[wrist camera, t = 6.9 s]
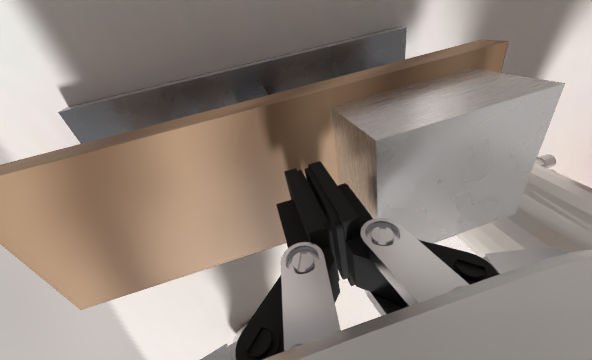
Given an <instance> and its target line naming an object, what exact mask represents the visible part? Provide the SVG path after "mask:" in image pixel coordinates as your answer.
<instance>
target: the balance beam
mask: <svg viewBox="0 0 592 360" xmlns="http://www.w3.org/2000/svg"><path fill="white" fill-rule="evenodd" d="M507 45H508V41H494V40H478V41H475V42H471V43H467V44H463V45H459V46H455V47H452V48H448V49H444V50H440V51H436V52H432V53H428V54H425V55H421V56H417V57H413V58H409V59H405V60H402V61H398V62H394V63H390V64H386V65H382V66H379V67H375V68H371V69H367V70H363V71H359V72H356V73H352V74H348V75H344V76H340V77H336V78H332V79H329V80H325V81H321V82H317V83H313V84H309V85H306V86H302V87H298V88H294V89H290V90H286V91H283V92H279V93H275V94H271V95H267V96H263V97H260V98H256V99H252V100H248V101H244V102H240V103H236V104H233V105H229V106H225V107H221V108H217V109H213V110H210V111H206V112H202V113H198V114H194V115H190V116H187V117H183V118H179V119H175V120H171V121H167V122H164V123H160V124H156V125H152V126H148V127H144V128H140V129H137V130H133V131H129V132H125V133H121V134H117V135H114V136H110V137H106V138H102V139H98V140H94V141H91V142H87V143H83V144H79V145H75V146H71V147H68V148H64V149H60V150H56V151H52V152H48V153H44V154H41V155H37V156H33V157H29V158H25V159H21V160H18V161H14V162H10V163H6V164H3V165H0V244H1V245H2V246H3V247H5V248H6V249H7V250H8V251H9V252H11V253H12V254H13V255H14V256H15V257H17V258H18V259H19V260H20V261H21V262H23V263H24V264H25V265H26V266H28V267H29V268H30V269H31V270H32V271H34V272H35V273H36V274H38V275H39V276H40V277H41V278H42V279H43V280H45V281H46V282H47V283H48V284H50V285H51V286H52V287H53V288H54V289H56V290H57V291H58V292H59V293H60V294H62V295H63V296H64V297H65V298H67V299H68V300H69V301H70V302H71V303H73V304H74V305H75V306H76V307H78V308H79V309H80V310H82V309H85V308H89V307H92V306H95V305H98V304H101V303H104V302H107V301H110V300H113V299H116V298H119V297H122V296H125V295H128V294H132V293H135V292H138V291H141V290H144V289H147V288H150V287H153V286H156V285H159V284H162V283H165V282H168V281H171V280H174V279H177V278H180V277H184V276H187V275H190V274H193V273H196V272H199V271H202V270H205V269H208V268H211V267H214V266H217V265H220V264H223V263H226V262H229V261H232V260H236V259H239V258H242V257H245V256H248V255H251V254H254V253H257V252H260V251H263V250H266V249H269V248H272V247H275V246H278V245H281V244H284V243H287V242H286V238H285V235H284V231H283V227H282V224H281V220H280V217H279V213H278V209H277V206H276V204H278V203H282V202H285V201H288V200H291V197H290V193H289V189H288V185H287V181H286V177H285V173H284V171H287V170H291V169H294V168H296V169H297V171H299V170H302V172H303V174H304V176H305V177H306V174H305V169H306V168H308V164H311V163H315V162H318V161H321V162H322V164H323V165H324V167H325V168H326V170H327V171H328V173H329V174H330V176H331V177H332V178H333V180H334V181H335V183H336V184H337V186H338V185H340V183H339V175H338V166H337V158H336V150H335V142H334V134H333V126H332V117H331V109H330V107H332V106H335V105H339V104H342V103H346V102H349V101H353V100H357V99H360V98H364V97H367V96H371V95H374V94H378V93H381V92H385V91H388V90H392V89H396V88H399V87H403V86H406V85H410V84H413V83H417V82H420V81H424V80H427V79H431V78H434V77H438V76H442V75H445V74H449V73H452V72H456V71H459V70H463V69H466V68H475V69H481V70H487V71H493V72H499V73H501V69H502V65H503V61H504V57H505V53H506V49H507Z"/></svg>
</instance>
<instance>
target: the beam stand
mask: <svg viewBox="0 0 592 360" xmlns="http://www.w3.org/2000/svg"><path fill="white" fill-rule="evenodd" d="M405 47H406V28H393V29H389V30H385V31H381V32H377V33H373V34H369V35H365V36H360V37H356V38H352V39H348V40H344V41H340V42H336V43H331V44H327V45H323V46H319V47H315V48H311V49H307V50H302V51H298V52H294V53H290V54H286V55H282V56H278V57H273V58H269V59H265V60H261V61H257V62H253V63H249V64H245V65H240V66H236V67H232V68H228V69H224V70H220V71H216V72H211V73H207V74H203V75H199V76H195V77H191V78H187V79H182V80H178V81H174V82H170V83H166V84H162V85H158V86H153V87H149V88H145V89H141V90H137V91H133V92H129V93H125V94H120V95H116V96H112V97H108V98H104V99H100V100H96V101H91V102H87V103H83V104H79V105H75V106H71V107H67V108H65V109H63V110H62V111H60V112H58V113H59V114H60V115H61V117H62V118H63V120H64V121H65V122H66V124H67V125H68V126H69V128H70V129H71V131H72V132H73V133H74V135H75V136H76V137H77V139H78V140H79V142H80V143H81V144H83V143H87V142H91V141H94V140H98V139H102V138H106V137H110V136H114V135H117V134H121V133H125V132H129V131H133V130H137V129H140V128H144V127H148V126H152V125H156V124H160V123H164V122H167V121H171V120H175V119H179V118H183V117H187V116H190V115H194V114H198V113H202V112H206V111H210V110H213V109H217V108H221V107H225V106H229V105H233V104H236V103H240V102H244V101H248V100H252V99H256V98H260V97H263V96H267V95H271V94H275V93H279V92H283V91H286V90H290V89H294V88H298V87H302V86H306V85H309V84H313V83H317V82H321V81H325V80H329V79H332V78H336V77H340V76H344V75H348V74H352V73H356V72H359V71H363V70H367V69H371V68H375V67H379V66H382V65H386V64H390V63H394V62H398V61H402V60H405Z"/></svg>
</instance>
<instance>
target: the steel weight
mask: <svg viewBox="0 0 592 360" xmlns="http://www.w3.org/2000/svg"><path fill="white" fill-rule="evenodd" d="M564 85H565V83H561V82H555V81H548V80H542V79H536V78H530V77H524V76H518V75H512V74H506V73H499V72H493V71H487V70H481V69H475V68H466V69H463V70H459V71H456V72H452V73H449V74H445V75H442V76H438V77H434V78H431V79H427V80H424V81H420V82H417V83H413V84H410V85H406V86H403V87H399V88H396V89H392V90H388V91H385V92H381V93H378V94H374V95H371V96H367V97H364V98H360V99H357V100H353V101H349V102H346V103H342V104H339V105H335V106H332V107H330V109H331V117H332V126H333V134H334V142H335V150H336V158H337V166H338V175H339V183H340V185H341V184H344V183H346V184H347V185H348V186H349V187H350V188H351V190H352V191H353V192H354V194H355V195H356V196H357V198H358V199H359V200H360V202H361V203H362V204H363V206H364V207H365V208H366V209H367V211H368V212H369V213H370V215H371V216H372V217H373V219H375V218H386V219H390V220H393V221H395V222H397V223H398V224H400V225H401V226H402V227H403V228H405V229H406V230H407V231H408V232H409V233H410V234H412V235H413V236H414V237H415V238H416V239H418V240H422V241H425V242H429V243H435V242H438V241H441V240H443V239H446V238H449V237H452V236H455V235H457V234H460V233H463V232H466V231H469V230H471V229H474V228H477V227H480V226H483V225H485V224H488V223H491V222H494V221H497V220H499V219H502V218H505V217H508V216H511V215H513V214H515V213H516V210H517V208H518V205H519V203H520V200H521V197H522V195H523V192H524V190H525V187H526V184H527V182H528V179H529V176H530V174H531V171H532V169H533V166H534V163H535V161H536V158H537V155H538V153H539V150H540V148H541V145H542V142H543V140H544V137H545V134H546V132H547V129H548V127H549V124H550V121H551V119H552V116H553V113H554V111H555V108H556V106H557V103H558V100H559V98H560V95H561V92H562V90H563V87H564Z"/></svg>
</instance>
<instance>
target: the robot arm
mask: <svg viewBox="0 0 592 360" xmlns="http://www.w3.org/2000/svg"><path fill="white" fill-rule="evenodd" d="M555 164H556V159H555V157H553V156H552V155H549V154H546V155H543V156H540V157H537V158H536V161H535V163H534V166H533V169H532V171H531V174H530V176H529V179H528V182H527V184H526V187H525V190H524V192H523V195H522V197H521V200H520V203H519V205H518V208H517V210H516V213H515V214H513V215H511V216H508V217H505V218H502V219H499V220H497V221H494V222H491V223H488V224H485V225H483V226H480V227H477V228H474V229H471V230H469V231H466V232H463V233H460V234H457V235H456V236H457V237H458V238H459V239H460V240H461V241H463V242H464V243H465V244H466V245H467V246H468V247H469V248H470V249H471V250H472V251H473V252H475V253H476V254H477V255H478V256H477V255H474V254H471V253H468V252H464V251H460V250H456V249H452V248H449V247H445V246H441V245H437V244H433V243H429V242H425V241H422V240H418V239H416V238H415V237H414V236H413V235H412V234H410V233H409V232H408V231H407V230H406V229H405V228H403V227H402V226H401V225H400V224H398V223H397V222H395V221H393V220H390V219H386V218H375V219H373V217H372V216H371V215H370V213H369V212H368V211H367V209H366V208H365V207H364V206H363V204H362V203H361V202H360V200H359V199H358V198H357V196H356V195H355V194H354V192H353V191H352V190H351V188H350V187H349V186H348V185H347V184H346V183H344V184H341V185H338V186H337V184H336V183H335V181H334V180H333V178H332V177H331V176H330V174H329V173H328V171H327V170H326V168H325V167H324V165H323V164H322V162H321V161H318V162H315V163H311V164H308V168H306V169H305V174H306V177H305V176H304V174H303V172H302V170H299V171H297V169H296V168H294V169H291V170H287V171H284V173H285V177H286V181H287V185H288V189H289V193H290V197H291V200H288V201H285V202H282V203H278V204H276V206H277V209H278V213H279V217H280V220H281V224H282V227H283V231H284V235H285V238H286V242H287V246H288V249H287V250H286V251H285V252H284V254H283V256H282V258H281V276H280V277H279V279H278V280H277V282H276V283H275V285H274V286H273V287H272V289H271V290H270V292H269V293H268V295H267V296H266V298H265V299H264V301H263V302H262V304H261V305H260V306H259V308H258V309H257V311H256V312H255V314H254V315H253V317H252V318H251V320H250V321H249V322H248V324H247V325H246V327H245V328H244V330H243V331H242V333H241V335H240V337H239V338H238V340H237V341H236V342H234V343H233V344H231V345H230V346H228V345H227V344H225V345H223V346H222V347H220V348H219V349H217V350H215V351H214V352H212V353H210V354H209V355H207V356H206V357H204V358H202V359H201V360H592V188H590V187H588V186H585V185H583V184H581V183H579V182H577V181H574V180H572V179H570V178H568V177H565V176H563V175H561V174H559V173H557V172H556V171H554V170H552V169H547V168H548V167H552V166H554V165H555ZM338 270H339V272H340V275H341V277H342V279H346V278H347V279H348V281H349V283H350V285H351V286H353V285H356V286H357V287H360V288H362V289H365V292H366V294H367V296H368V298H369V299H370V300H371V302H372V303H373V305H374V306H375V307H376V309H377V310H378V312H379V313H380V314H381V317H378V318H375V319H372V320H370V321H367V322H364V323H361V324H359V325H356V326H353V327H350V328H347V329H345V330H342V331H341V330H340V326H339V321H338V317H337V312H336V308H335V301H336V299H337V297H338V295H339V293H340V289H339V283H338V281H339V275H338Z"/></svg>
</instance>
